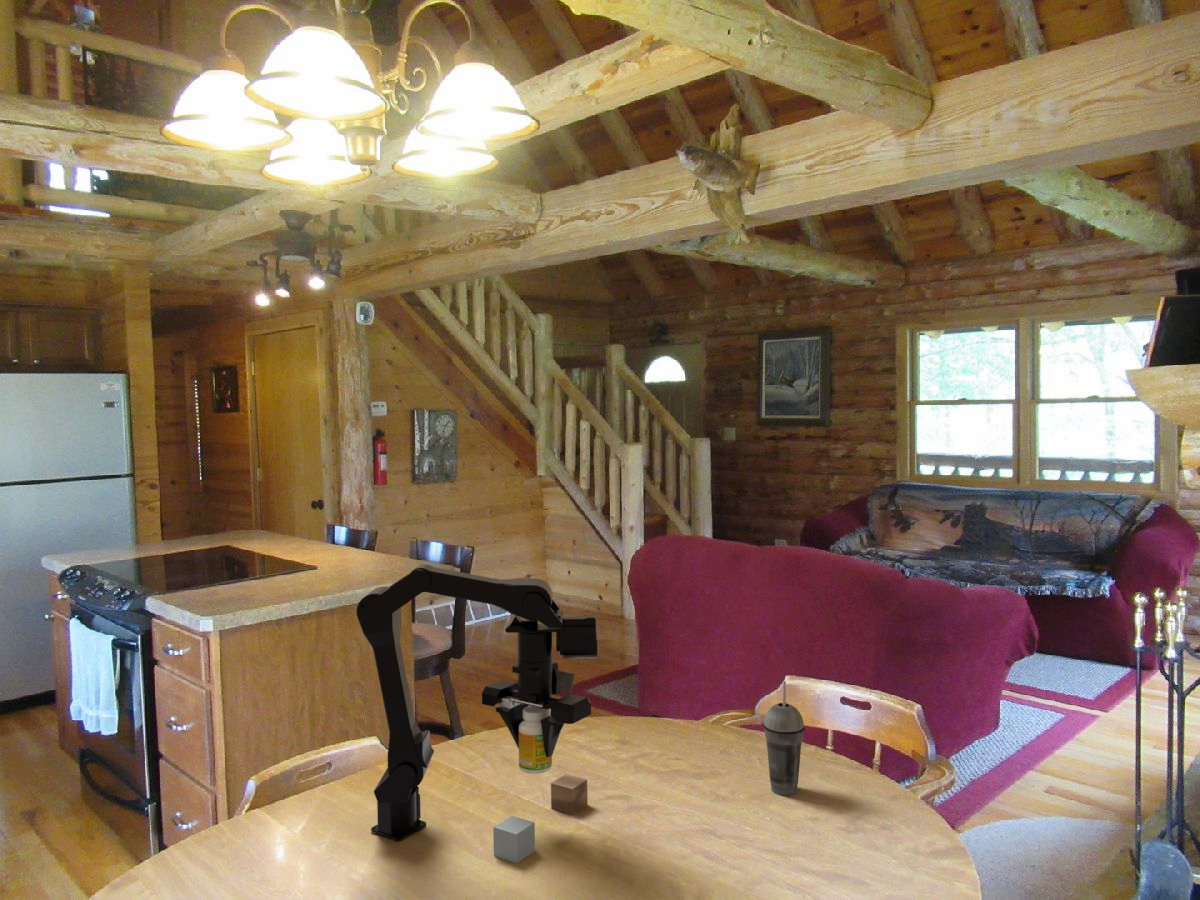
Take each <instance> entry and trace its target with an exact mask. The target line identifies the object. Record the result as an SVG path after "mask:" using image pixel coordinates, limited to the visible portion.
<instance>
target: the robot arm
mask: <svg viewBox="0 0 1200 900" xmlns="http://www.w3.org/2000/svg"><path fill="white" fill-rule="evenodd" d="M422 593H429V594H434V595H438V596H439V595H440V596H443V597H449V598H454V599H455V598H456V599H461V600H466V601H471V602H474V603H475V602H476V603H481V604H487V605H493V606H495V607H498V608H500V609H502V610H503V611H505V612H508V613H509V614H512V615H514V617H513V619H512V620H511V621H509V622H508V623H507V625H506V626H505V629H504V631H505V633H510V634H512V633H513V634H515V633H517V634H516V636H517V638H516V640H517V641H516V643H517V644H516V645H517V646H516V647H517V650H516V651H517V652H516V653H517V664H515V665H513V666H512V667H511V668H512V673H514V674H517V678H516V680H517V682H515V681H510V680H505V679H500V680H497V681H494V682H492V683H490V684H488V685H485V686H484V688H483V689H482V691H481V694H480V695H481V699H480V700H481V704H482V705H485V706H489V707H495V708H494V710H495V712H496V713H498V714H499V715H500V717H501V719H502V721H503V722H504V724H505V725H506V727H507V728H508V731H509V733H510V735H511V736H512V738H513V740H514V742H515V745H516V747H517V749H518V750H519V725H520V723H521V722H522V721H524V719H523V709H524V708H525V707H528V706H534V707H539V708H543V709H547V711H548V715H547V717H546V718H544V719H542V720H541V727H542V734H543V741H544V749H545V753H546V757H550V756H552V757H553V754H554V751H555V748H556V745H557V743H558V740H559V737H560V734H561V732H562V729H563V727H564V726H565V724H567V725H574V724H575V723H577V722H579V721H581V720H584V719H585V718H587V717H589V716H591V715H592V704H591V703H592V702H591V700H590V699H589V698H588V697H587V696H582V695H577V694H572V690H573V685H574V682H575V681H574V680H575V676H576V675H575V673H572V672H566V671H562V670H559V664H558V662H557V661H553V633H556V634H555V642H556V643H555V644H556V645H555V647H556V648H555V650H556V651H555V652H556V653H559V655H560V656H562V658H563V659H598V632H597V617H596V615H593V614H589V615H584V616H583V615H582V616H565V614H564V612H563V611H562V609H561V608H560V607H559V605H558V604H557V603H556V602H555V600H554V599H553V596H554V595H553V590H552V587H551V586H550V585H549V584H548V582H546V581H545V580H543V579H541V578H527V577H526V578H523V577H522V578H508V579H507V578H505V579H503V578H501V579H498V578H493V577H488V576H481V575H478V574H477V575H476V574H472V573H466V572H462V571H455V570H450V569H446V568H440V567H435V566H432V565H430V564H428V563H427V564H425V563H422V564H419V565H417V566H416V567H415V568H414V569H413V570H411V571H410V573H408V574H406V575H405V576H404V577H401V578H400V579H399V580H396V581H395V582H393V584H391V585H389V586H379V587H376V588H374V589H373V590H372V591H370V592H369V593H368V594H366V595H365V596H364V597H362V598H361V599H360V601H359V602H358V604H357V606H356V619H357V620H358V623H359V626H360V628H361V632H362V633H363V635H364V637H365V639H366V640H367V642H368V644H369V645H370V646H371V648H372V651H373V654H374V660H375V666H376V670H377V675H378V681H379V686H380V691H381V696H382V701H383V708H384V712H385V713H384V714H385V716H386V717H385V718H386V723H387V727H388V732H389V738H388V749H387V768H386V769H385V771H384V773H383V775H382V776H381V778H380V780H379V781H378V783H377V785H376V786H375V789H374V790H373V794H374V797H375V799H376V803H377V804H376V807H377V809H376V810H377V824H375V825H373V826H372V827H371V828H370V831H371V832H372V833H375V834H377V835H379V836H382V837H386V838H388V839H390V840H394V841H396V842H397V841H401V840H403V839H405V838H407V837H409V836H410V835H412V834H414V833H415V832H417V831H420V830H421V829H423V828H424V827H426V826H427V821H424V820H423V819H422V820H421V795H420V792H419V791H420V789H419V788H420V787H419V785H420V784H421V782H422V781H423V780H424V777H425V775H426V772H427V771H428V769H429V767H430V764H431V760H432V757H433V755H434V753H435V749H434V748H433V747H432V743H431V732H430V730H429V729H425V730H423V731H422V730H421V729H420V727H419V726H418V725H417V721H416V719H415V712H414V709H413V703H412V702H413V701H412V698H411V693H410V687H409V683H408V678H407V677H408V676H407V672H406V667H405V661H404V657H403V652H402V646H401V629H402V628H401V627H402V607H404V606H405V605H407V604H408V603H410V602H411V601H412V600H413V599H415V598H416V597H418V596H419V595H420V594H422ZM540 623H541V624H540ZM562 691H565V692H567V693H569V694H567V695H564V696H562V697H560V698H556V697H553V696H555V695H556V696H558V695H560V694H561V692H562ZM497 705H498V706H497Z"/></svg>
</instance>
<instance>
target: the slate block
mask: <svg viewBox="0 0 1200 900" xmlns="http://www.w3.org/2000/svg"><path fill="white" fill-rule="evenodd" d="M535 825H536V823H535V822H534V821H531V820H528V819H524V818H521V817H518V816H515V815H510V816H509V817H507V818H506V819H504V820H503V821H501V822H500V823H498V824H496V825H494V826H493V829H492V830H493V856H494V857H497V858H500V859H503V860H506V861H508V862H512V863H514V864H518V863H520V862H521V861H522V860H523V859H525V858H527V857H528V856H529V855H531V854H533V853H534V852H535V851H536V836H535V835H536V830H535V827H536V826H535Z"/></svg>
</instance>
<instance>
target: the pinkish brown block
mask: <svg viewBox="0 0 1200 900" xmlns="http://www.w3.org/2000/svg"><path fill="white" fill-rule="evenodd" d="M588 798H589V797H588V779H587V778H582V777H580V776H579V777H578V776H575V775H572V774H565V773H564V775H562V776H560V777H559V778H557V779H556V780H553V781H552V782H551V783H550V803H551V806H550V808H551V809H552V810H554V811H559V812H561V813H564V814H569V815H572V816H573V815H575V814H576V813H578V812H579V811H581V810H582V809H584V808H585V807H587V806H588V804H589V801H588Z"/></svg>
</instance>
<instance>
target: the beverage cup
mask: <svg viewBox="0 0 1200 900" xmlns="http://www.w3.org/2000/svg"><path fill="white" fill-rule="evenodd" d="M762 726H763V729H764V730H763V731H764V736H765V738H766V749H767V760H768V770H769V782H770V788H771V789H770V790H771V792H772V793H773V794H776V795H778V796H783V797H784V796H785V797H786V796H787V797H788V796H789V797H790V796H794V795H796V794H797V793H798V785H799V773H800V765H801V763H800V762H801V751H802V750H801V749H802V742H803V737H804V731H805V729H806V728H805V724H804V719H803V716H802V713H801V712H800V711H799V710H798V709H797V707H795V706H794V705H792V704H790V703H787V682H786V680H785V681H784V680H783V681H782V702H779V703H776V704H774V705H772V706H771V707H770V708H769V709H767V711H766V714H765V716H764V721H763V725H762Z"/></svg>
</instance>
